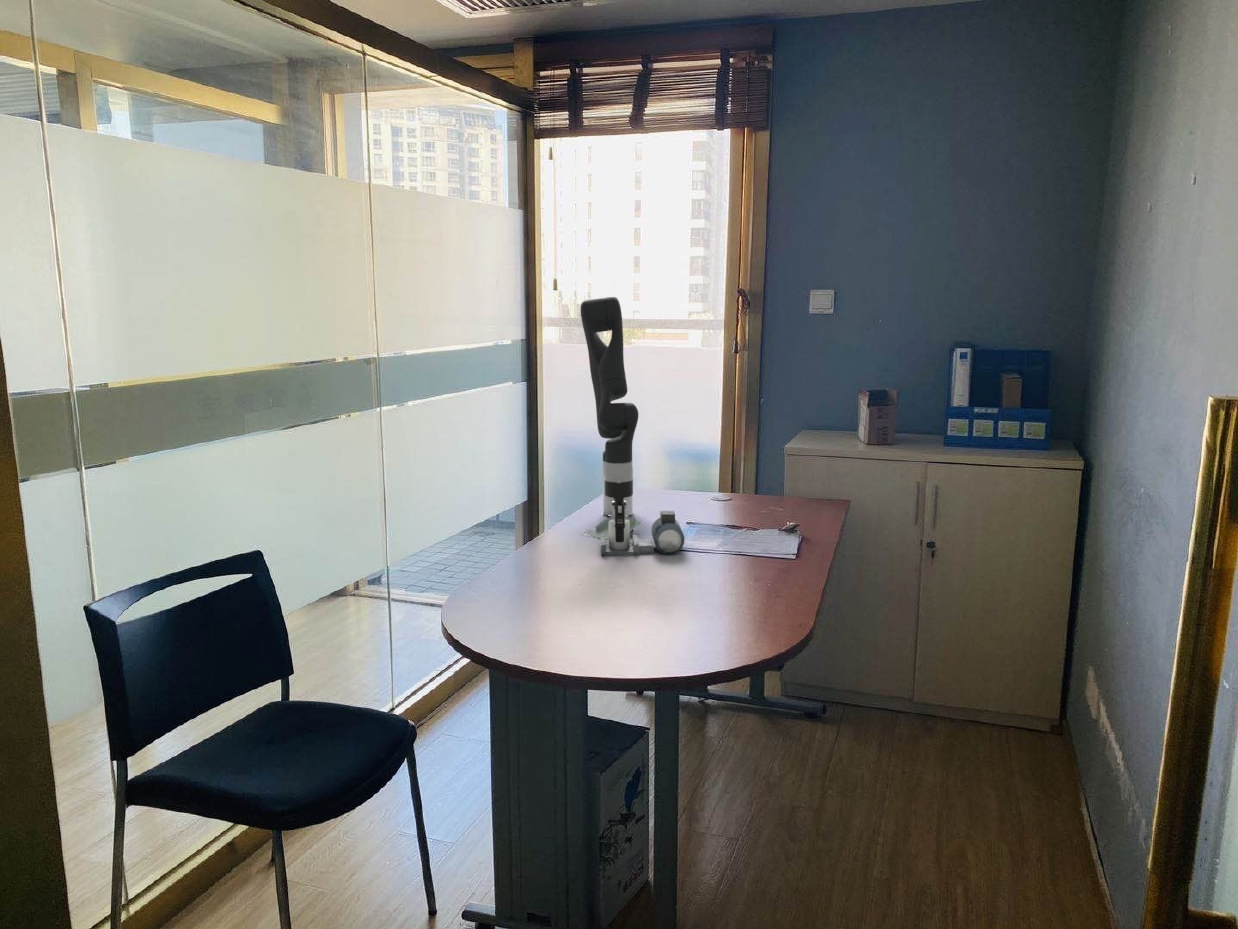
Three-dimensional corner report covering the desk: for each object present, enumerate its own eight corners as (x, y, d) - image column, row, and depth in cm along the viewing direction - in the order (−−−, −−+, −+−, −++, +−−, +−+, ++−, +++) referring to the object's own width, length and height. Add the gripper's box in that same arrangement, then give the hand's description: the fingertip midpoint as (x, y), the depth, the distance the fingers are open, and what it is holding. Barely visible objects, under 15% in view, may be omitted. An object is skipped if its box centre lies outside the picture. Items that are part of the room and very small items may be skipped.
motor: (600, 545, 244) (600, 509, 242) (680, 544, 244) (680, 508, 242) (601, 557, 233) (600, 519, 231) (684, 555, 233) (685, 517, 232)
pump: (608, 544, 241) (608, 512, 240) (629, 543, 242) (629, 512, 240) (609, 549, 236) (608, 517, 234) (630, 549, 236) (629, 517, 235)
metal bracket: (608, 508, 264) (647, 515, 254) (612, 525, 266) (651, 533, 256) (577, 531, 254) (616, 539, 245) (581, 548, 256) (620, 557, 247)
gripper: (604, 473, 242) (604, 531, 245) (605, 483, 228) (605, 545, 231) (631, 472, 242) (632, 531, 245) (634, 483, 228) (634, 545, 231)
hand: (619, 538), depth 238 cm, fingers open, 7 cm apart
